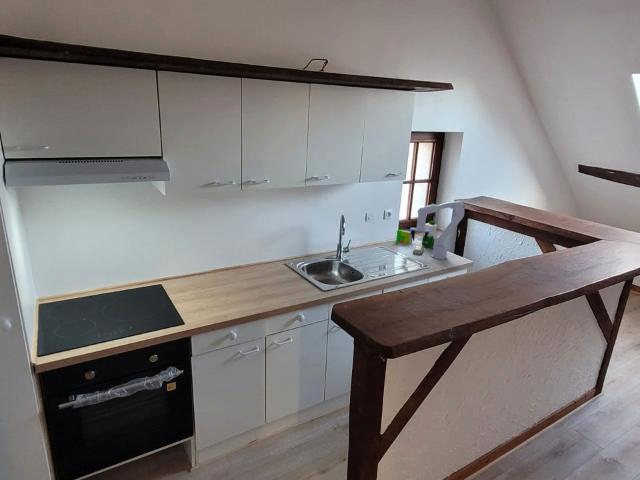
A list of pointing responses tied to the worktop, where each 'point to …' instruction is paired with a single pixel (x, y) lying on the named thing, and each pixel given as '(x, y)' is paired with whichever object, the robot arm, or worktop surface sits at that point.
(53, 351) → the worktop surface
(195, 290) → the worktop surface
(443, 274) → the worktop surface
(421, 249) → the key panel
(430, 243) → the milk carton
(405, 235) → the puzzle toy
